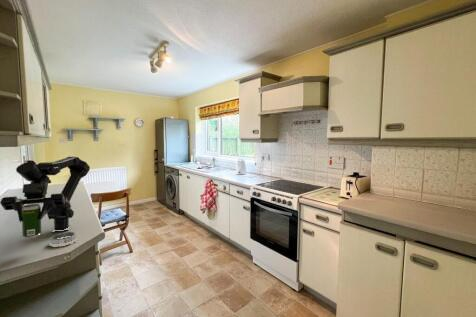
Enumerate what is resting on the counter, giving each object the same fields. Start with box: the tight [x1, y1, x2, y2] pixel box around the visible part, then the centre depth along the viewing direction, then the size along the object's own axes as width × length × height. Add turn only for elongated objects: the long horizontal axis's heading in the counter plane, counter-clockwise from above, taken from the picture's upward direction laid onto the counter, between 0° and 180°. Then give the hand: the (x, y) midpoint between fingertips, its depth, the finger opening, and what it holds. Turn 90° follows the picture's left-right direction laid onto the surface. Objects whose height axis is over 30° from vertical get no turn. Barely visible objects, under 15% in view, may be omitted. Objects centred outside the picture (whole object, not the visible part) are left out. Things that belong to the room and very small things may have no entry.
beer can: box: [21, 203, 42, 239], centre depth 85 cm, size 5×5×12 cm
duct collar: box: [50, 231, 77, 244], centre depth 95 cm, size 10×10×3 cm
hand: (30, 220), depth 84 cm, fingers closed on beer can, 5 cm apart
